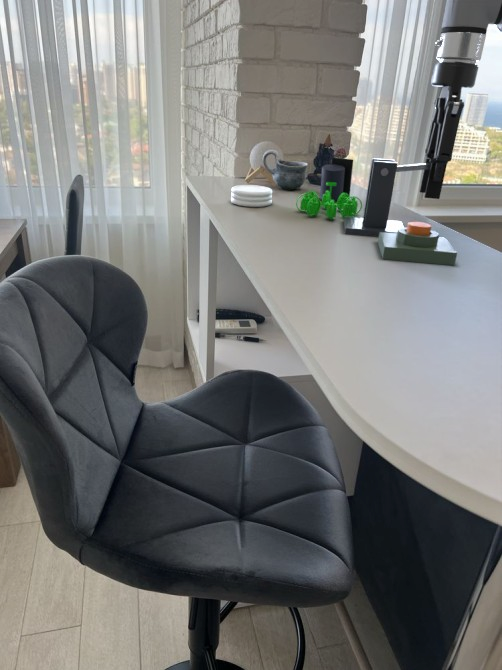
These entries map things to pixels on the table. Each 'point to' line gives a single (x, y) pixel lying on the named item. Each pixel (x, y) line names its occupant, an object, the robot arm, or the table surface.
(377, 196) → the switch bracket
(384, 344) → the table surface
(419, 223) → the stop button
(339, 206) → the chandelier
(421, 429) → the table surface
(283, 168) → the mug
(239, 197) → the white stacked round discs
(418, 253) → the stop box
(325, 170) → the speaker
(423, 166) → the switch lever
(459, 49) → the robot arm
